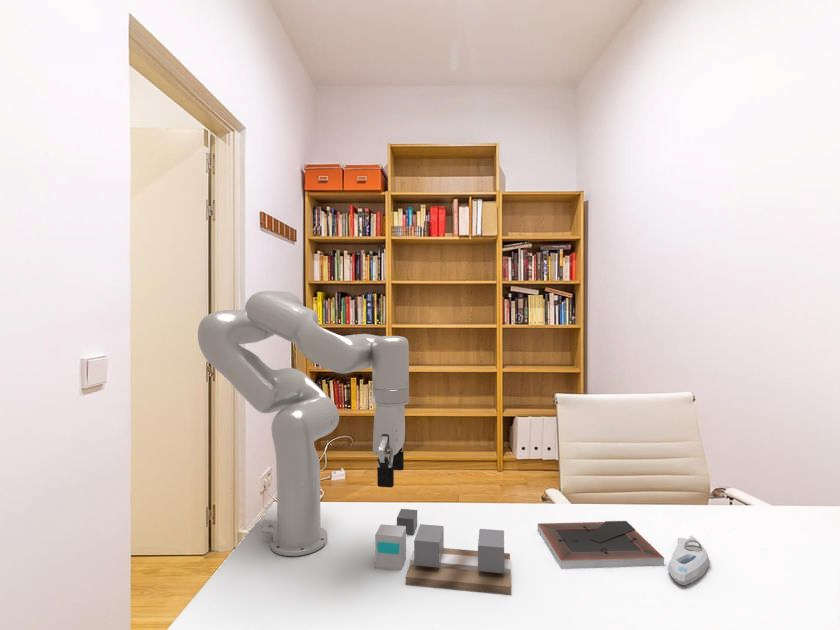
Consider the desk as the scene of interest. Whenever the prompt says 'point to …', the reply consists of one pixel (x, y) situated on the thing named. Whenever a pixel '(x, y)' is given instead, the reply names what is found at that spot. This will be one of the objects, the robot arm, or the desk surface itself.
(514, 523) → the desk surface
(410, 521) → the grey rectangular block
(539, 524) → the picture frame
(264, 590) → the desk surface
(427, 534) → the mounted modules
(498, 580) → the rail board
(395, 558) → the block
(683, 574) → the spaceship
